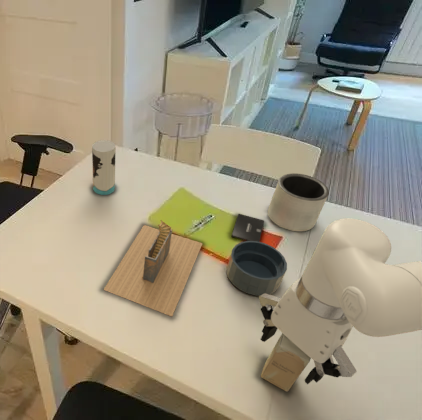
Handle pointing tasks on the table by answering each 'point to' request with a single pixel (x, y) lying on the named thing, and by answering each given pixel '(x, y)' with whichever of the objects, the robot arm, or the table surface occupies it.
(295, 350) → the box
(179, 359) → the table surface
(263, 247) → the round storage tub
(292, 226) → the planter
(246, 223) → the solid state drive
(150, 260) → the architectural model on board
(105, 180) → the white patterned canister
